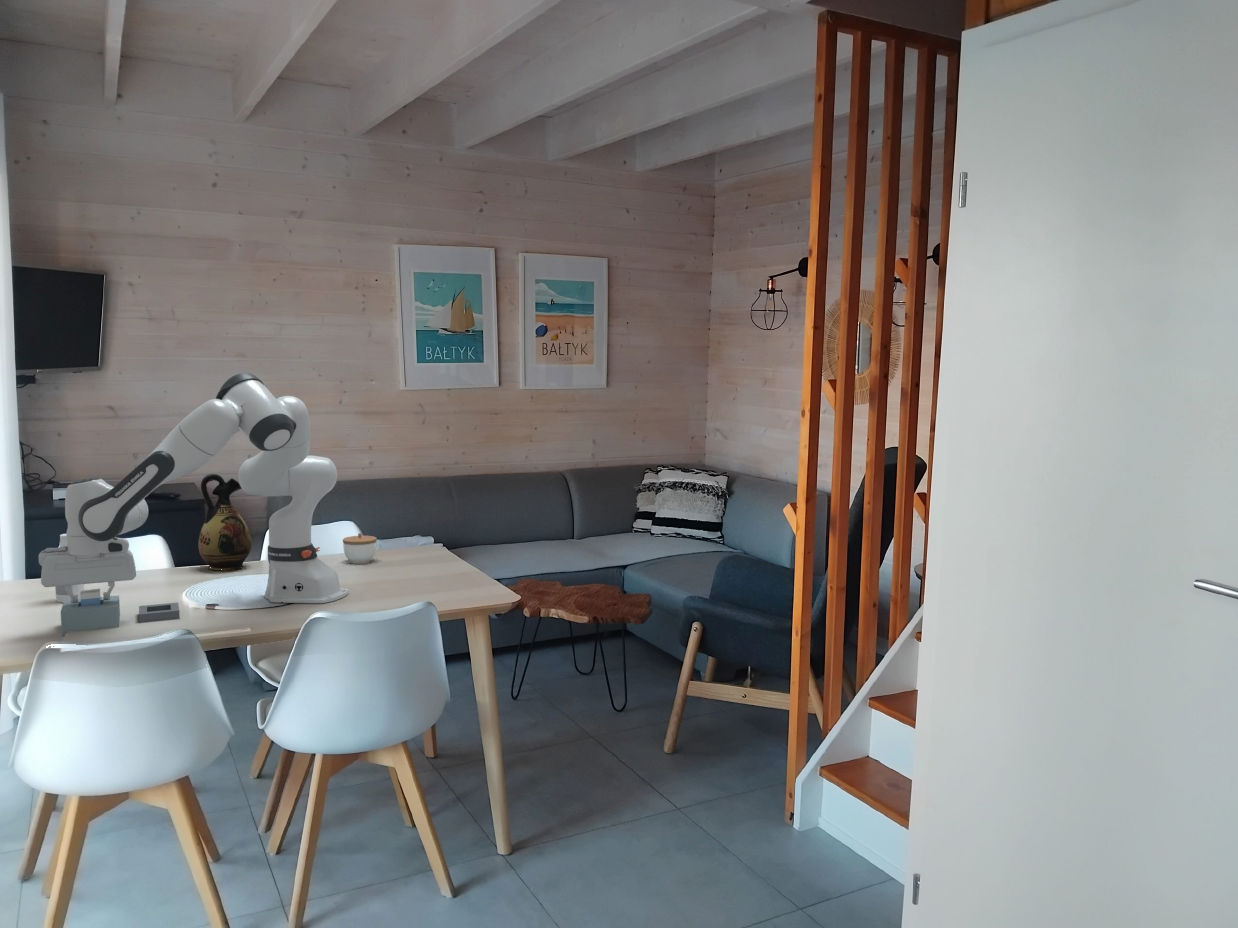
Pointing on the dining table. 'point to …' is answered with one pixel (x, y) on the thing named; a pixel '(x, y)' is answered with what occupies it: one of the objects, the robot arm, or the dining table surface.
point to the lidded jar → (359, 548)
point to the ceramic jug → (223, 528)
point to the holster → (159, 612)
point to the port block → (90, 615)
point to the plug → (90, 597)
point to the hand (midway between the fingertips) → (90, 601)
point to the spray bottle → (60, 590)
